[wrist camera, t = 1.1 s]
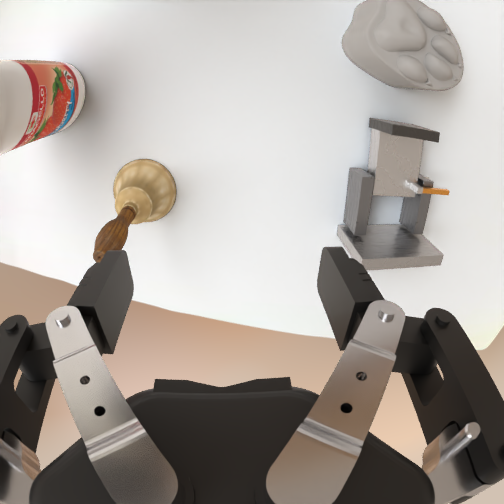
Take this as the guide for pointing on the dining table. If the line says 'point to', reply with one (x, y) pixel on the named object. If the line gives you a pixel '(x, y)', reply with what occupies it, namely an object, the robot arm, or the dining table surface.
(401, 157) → the grey boxy piece
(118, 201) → the hand bell
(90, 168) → the dining table surface
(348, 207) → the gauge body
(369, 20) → the paw print stamp
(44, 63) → the fruit juice
